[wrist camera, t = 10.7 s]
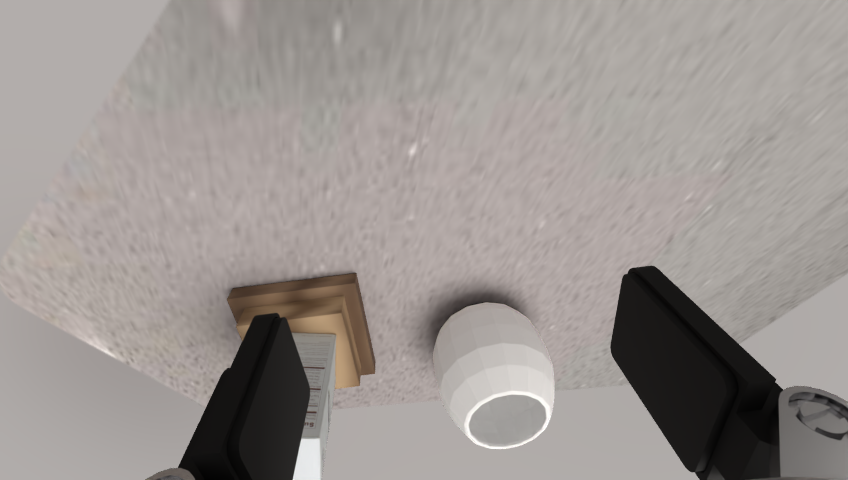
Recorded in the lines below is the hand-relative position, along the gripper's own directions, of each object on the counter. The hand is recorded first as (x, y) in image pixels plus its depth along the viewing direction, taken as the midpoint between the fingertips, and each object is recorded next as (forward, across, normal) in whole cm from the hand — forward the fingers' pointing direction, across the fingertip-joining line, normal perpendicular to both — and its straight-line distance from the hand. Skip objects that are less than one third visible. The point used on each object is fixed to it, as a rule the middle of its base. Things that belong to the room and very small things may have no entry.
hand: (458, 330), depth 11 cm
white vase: (+30, -6, +28) cm, 42 cm away
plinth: (+30, +15, +24) cm, 41 cm away
